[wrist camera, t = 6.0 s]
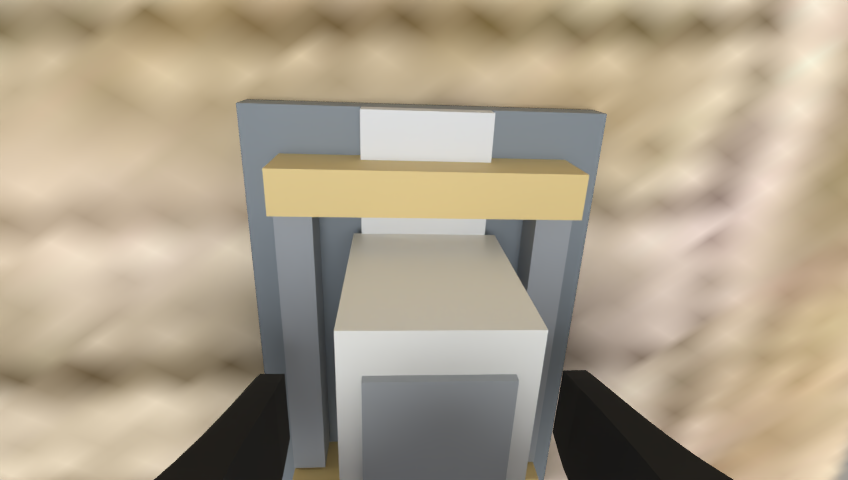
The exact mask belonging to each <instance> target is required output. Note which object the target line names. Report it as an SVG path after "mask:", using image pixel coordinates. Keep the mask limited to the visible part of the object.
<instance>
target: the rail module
mask: <svg viewBox="0 0 848 480" xmlns="http://www.w3.org/2000/svg"><path fill="white" fill-rule="evenodd" d="M547 335H548V329H547V327H546V325H545V323H544V322H543V320H542V318H541V316H540V315H539V313H538V311H537V309H536V307H535V306H534V304H533V302H532V300H531V299H530V297H529V295H528V293H527V292H526V290H525V288H524V286H523V285H522V283H521V281H520V279H519V277H518V276H517V274H516V272H515V270H514V269H513V267H512V265H511V263H510V262H509V260H508V258H507V256H506V255H505V253H504V251H503V249H502V248H501V246H500V244H499V242H498V240H497V239H496V237H495V235H448V234H360V233H354V235H353V239H352V244H351V249H350V254H349V259H348V264H347V269H346V274H345V279H344V283H343V288H342V293H341V298H340V303H339V308H338V313H337V318H336V323H335V327H334V349H335V375H336V401H337V427H338V454H339V480H525V477H526V471H527V464H528V458H529V451H530V445H531V439H532V432H533V426H534V419H535V413H536V406H537V400H538V393H539V387H540V381H541V374H542V368H543V361H544V355H545V348H546V342H547Z"/></svg>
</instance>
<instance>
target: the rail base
mask: <svg viewBox="0 0 848 480" xmlns="http://www.w3.org/2000/svg"><path fill="white" fill-rule="evenodd" d="M236 108H237V118H238V127H239V137H240V146H241V155H242V165H243V174H244V184H245V193H246V203H247V212H248V221H249V231H250V240H251V250H252V259H253V268H254V278H255V287H256V297H257V306H258V315H259V325H260V334H261V344H262V353H263V363H264V372H265V374H285V384H286V395H287V407H288V419H289V430H290V441H289V446H288V452H287V458H286V463H285V468H284V473H283V478H282V480H339V454H338V427H337V401H336V375H335V349H334V327H335V323H336V318H337V313H338V308H339V303H340V298H341V293H342V288H343V283H344V279H345V274H346V269H347V264H348V259H349V254H350V249H351V244H352V239H353V235H354V233H360V234H448V235H495V237H496V239H497V240H498V242H499V244H500V246H501V248H502V249H503V251H504V253H505V255H506V256H507V258H508V260H509V262H510V263H511V265H512V267H513V269H514V270H515V272H516V274H517V276H518V277H519V279H520V281H521V283H522V285H523V286H524V288H525V290H526V292H527V293H528V295H529V297H530V299H531V300H532V302H533V304H534V306H535V307H536V309H537V311H538V313H539V315H540V316H541V318H542V320H543V322H544V323H545V325H546V327H547V329H548V335H547V342H546V348H545V355H544V361H543V368H542V374H541V381H540V387H539V393H538V400H537V406H536V413H535V419H534V426H533V432H532V439H531V445H530V451H529V458H528V464H527V471H526V477H525V480H544V475H545V469H546V463H547V457H548V452H549V446H550V440H551V434H552V429H553V423H554V417H555V411H556V405H557V400H558V394H559V388H560V382H561V376H562V371H563V365H564V359H565V353H566V348H567V342H568V336H569V330H570V324H571V319H572V313H573V307H574V301H575V295H576V290H577V284H578V278H579V272H580V267H581V261H582V255H583V249H584V243H585V238H586V232H587V226H588V220H589V214H590V209H591V203H592V197H593V191H594V186H595V180H596V174H597V168H598V162H599V157H600V151H601V145H602V139H603V133H604V128H605V122H606V116H607V114H605V113H602V112H598V111H595V110H580V109H547V108H514V107H481V106H448V105H415V104H383V103H350V102H317V101H284V100H251V99H246V100H243V101H240V102H237V103H236Z"/></svg>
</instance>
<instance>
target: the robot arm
mask: <svg viewBox="0 0 848 480" xmlns="http://www.w3.org/2000/svg"><path fill="white" fill-rule="evenodd" d="M553 434H554V438H555V441H556V445H557V448H558V452H559V455H560V458H561V462H562V465H563V468H564V471H565V473H566V476H567V478H568V480H733V479H731V478H730V477H728V476H727V475H725V474H724V473H722V472H720V471H719V470H717V469H716V468H714V467H712V466H711V465H709V464H708V463H706V462H705V461H703V460H702V459H700V458H699V457H697V456H696V455H694V454H693V453H691V452H690V451H689V450H687V449H686V448H684V447H683V446H682V445H680V444H679V443H677V442H676V441H675V440H673V439H672V438H671V437H669V436H668V435H666V434H665V433H664V432H662V431H661V430H660V429H659V428H657V427H656V426H655V425H653V424H652V423H651V422H649V421H648V420H647V419H646V418H644V417H643V416H642V415H641V414H639V413H638V412H637V411H636V410H634V409H633V408H632V407H631V406H629V405H628V404H627V403H626V402H625V401H623V400H622V399H621V398H620V397H618V396H617V395H616V394H615V393H614V392H612V391H611V390H610V389H609V388H608V387H606V386H605V385H604V384H603V383H602V382H600V381H599V380H598V379H597V378H595V377H594V376H593V375H591V374H590V373H589V372H588V371H586V370H571V371H563V376H562V381H561V387H560V393H559V399H558V405H557V410H556V416H555V422H554V428H553ZM289 441H290V430H289V419H288V407H287V395H286V384H285V374H260V375H258V376H257V377H256V378H255V379H254V380H253V382H252V383H251V384H250V385H249V386H248V387H247V388H246V389H245V390H244V392H243V393H242V394H241V395H240V396H239V397H238V398H237V399H236V400H235V402H234V403H233V404H232V405H231V406H230V407H229V408H228V409H227V410H226V411H225V412H224V413H223V414H222V416H221V417H220V418H219V419H218V420H217V421H216V422H215V423H214V424H213V425H212V426H211V427H210V428H209V429H208V430H207V431H206V432H205V433H204V434H203V435H202V436H201V437H200V438H199V439H198V440H197V441H196V442H195V443H194V444H193V445H192V446H191V447H190V448H189V449H187V450H186V451H185V452H184V453H183V454H182V455H181V456H180V457H179V458H178V459H177V460H176V461H175V462H174V463H173V464H171V465H170V466H169V467H168V468H167V469H166V470H165V471H163V472H162V473H161V474H160V475H159V476H158V477H157V478H155V479H154V480H282V478H283V473H284V468H285V463H286V458H287V452H288V446H289Z"/></svg>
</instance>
